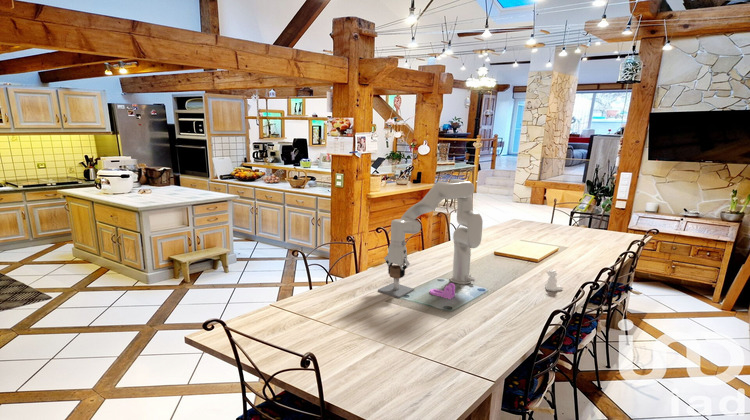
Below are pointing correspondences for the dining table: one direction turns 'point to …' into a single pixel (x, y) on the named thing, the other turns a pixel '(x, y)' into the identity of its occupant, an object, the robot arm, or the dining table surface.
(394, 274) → the collar
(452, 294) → the bracket
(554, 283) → the seated beast figurine
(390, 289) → the post
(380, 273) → the dining table surface
